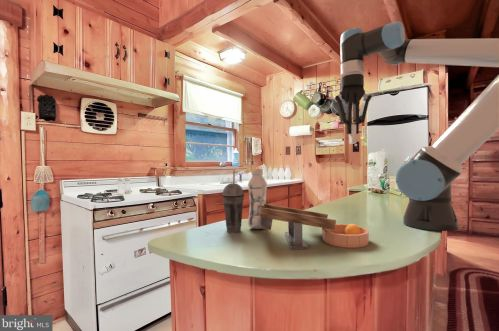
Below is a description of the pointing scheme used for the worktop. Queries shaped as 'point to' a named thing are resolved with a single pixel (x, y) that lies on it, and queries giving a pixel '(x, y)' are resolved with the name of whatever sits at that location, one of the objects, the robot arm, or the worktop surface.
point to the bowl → (345, 237)
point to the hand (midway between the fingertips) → (352, 143)
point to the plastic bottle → (256, 197)
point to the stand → (295, 236)
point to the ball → (352, 230)
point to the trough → (292, 217)
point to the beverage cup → (233, 205)
